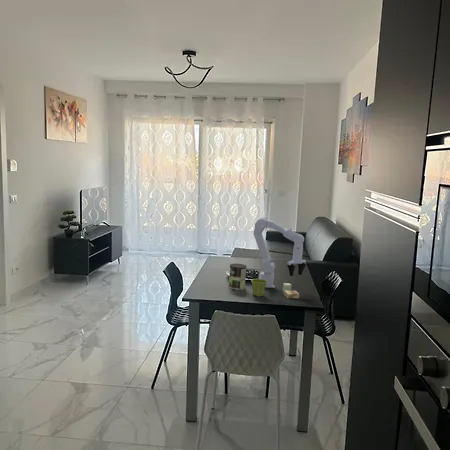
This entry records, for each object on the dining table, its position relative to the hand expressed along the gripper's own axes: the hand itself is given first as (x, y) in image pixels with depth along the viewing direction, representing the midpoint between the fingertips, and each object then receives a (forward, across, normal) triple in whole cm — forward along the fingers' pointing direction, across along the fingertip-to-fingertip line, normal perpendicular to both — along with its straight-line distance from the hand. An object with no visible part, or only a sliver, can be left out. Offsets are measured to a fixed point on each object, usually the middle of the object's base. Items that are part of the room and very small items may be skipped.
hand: (295, 275), depth 269 cm
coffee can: (+10, -31, +20) cm, 38 cm away
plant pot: (+10, -28, +2) cm, 30 cm away
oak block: (+10, -12, -9) cm, 18 cm away
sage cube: (+10, -8, -1) cm, 12 cm away
